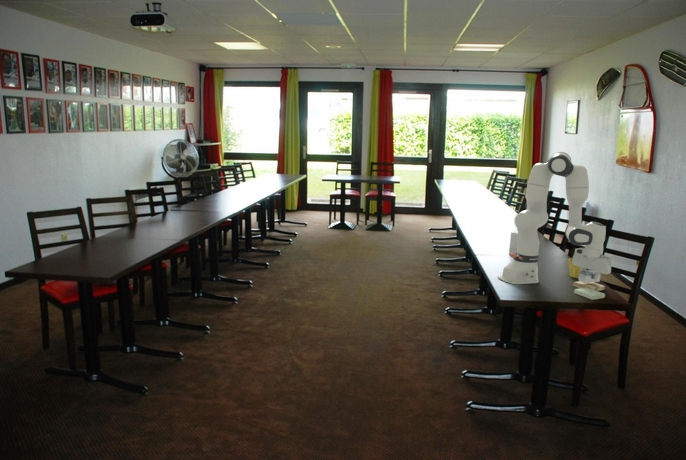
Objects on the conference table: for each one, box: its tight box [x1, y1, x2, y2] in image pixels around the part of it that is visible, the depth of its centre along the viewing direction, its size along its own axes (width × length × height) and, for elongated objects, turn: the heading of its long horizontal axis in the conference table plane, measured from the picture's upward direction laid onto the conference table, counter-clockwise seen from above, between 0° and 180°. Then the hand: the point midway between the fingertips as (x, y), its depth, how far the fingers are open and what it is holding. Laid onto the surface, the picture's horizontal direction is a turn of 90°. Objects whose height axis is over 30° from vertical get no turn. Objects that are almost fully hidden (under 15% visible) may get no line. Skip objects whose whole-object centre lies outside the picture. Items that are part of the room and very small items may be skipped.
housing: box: [577, 269, 602, 283], centre depth 288 cm, size 10×5×5 cm, turn 110°
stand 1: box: [572, 280, 606, 292], centre depth 288 cm, size 11×11×2 cm
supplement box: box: [508, 230, 518, 256], centre depth 352 cm, size 9×9×15 cm
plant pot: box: [567, 257, 587, 279], centre depth 307 cm, size 10×10×10 cm
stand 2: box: [573, 287, 606, 300], centre depth 276 cm, size 9×11×2 cm
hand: (589, 277), depth 288 cm, fingers closed on housing, 5 cm apart
